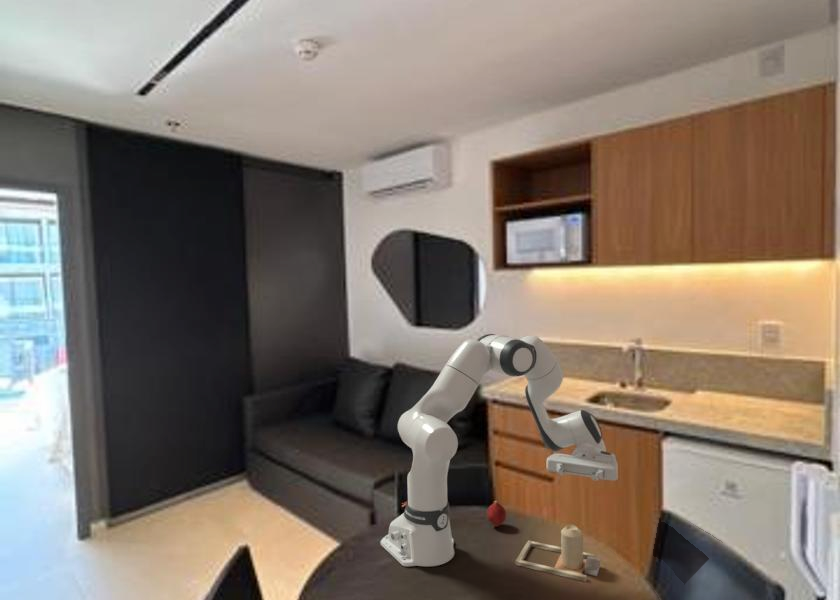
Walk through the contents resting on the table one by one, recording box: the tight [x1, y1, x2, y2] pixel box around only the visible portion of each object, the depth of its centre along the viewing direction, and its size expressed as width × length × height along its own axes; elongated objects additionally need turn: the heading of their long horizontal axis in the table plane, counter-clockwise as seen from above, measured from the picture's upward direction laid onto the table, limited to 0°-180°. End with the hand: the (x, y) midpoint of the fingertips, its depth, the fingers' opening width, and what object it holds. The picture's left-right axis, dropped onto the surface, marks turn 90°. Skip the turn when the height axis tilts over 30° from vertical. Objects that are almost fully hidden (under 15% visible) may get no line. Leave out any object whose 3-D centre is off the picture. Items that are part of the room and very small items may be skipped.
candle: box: [560, 524, 584, 570], centre depth 134 cm, size 6×6×10 cm
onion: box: [486, 500, 507, 528], centre depth 157 cm, size 6×6×8 cm
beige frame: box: [514, 539, 601, 582], centre depth 136 cm, size 20×12×2 cm, turn 62°
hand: (576, 475), depth 144 cm, fingers open, 8 cm apart
